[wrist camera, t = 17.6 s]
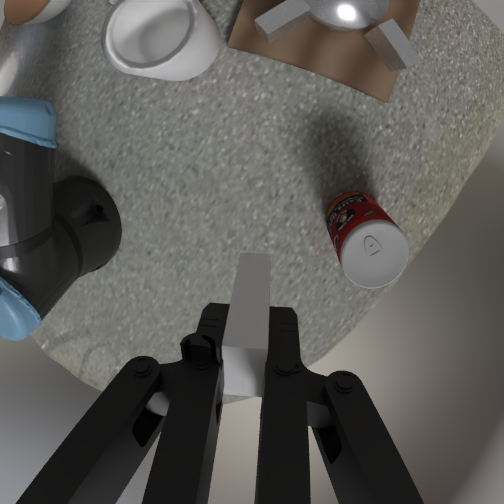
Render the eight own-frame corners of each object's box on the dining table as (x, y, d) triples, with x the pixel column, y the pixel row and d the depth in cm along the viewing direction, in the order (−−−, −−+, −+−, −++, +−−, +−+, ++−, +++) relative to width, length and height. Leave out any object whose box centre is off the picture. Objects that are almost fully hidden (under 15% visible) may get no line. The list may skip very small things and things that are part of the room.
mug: (112, 40, 30) (67, 28, 20) (165, -16, 26) (132, -45, 17) (180, 97, 34) (147, 96, 24) (238, 39, 30) (225, 16, 20)
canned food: (352, 178, 37) (379, 206, 27) (390, 217, 39) (422, 255, 29) (312, 219, 40) (324, 259, 30) (352, 255, 42) (372, 300, 32)
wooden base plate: (228, 47, 30) (223, 41, 27) (276, -70, 21) (276, -84, 18) (384, 102, 32) (395, 102, 29) (420, -15, 23) (432, -23, 19)
